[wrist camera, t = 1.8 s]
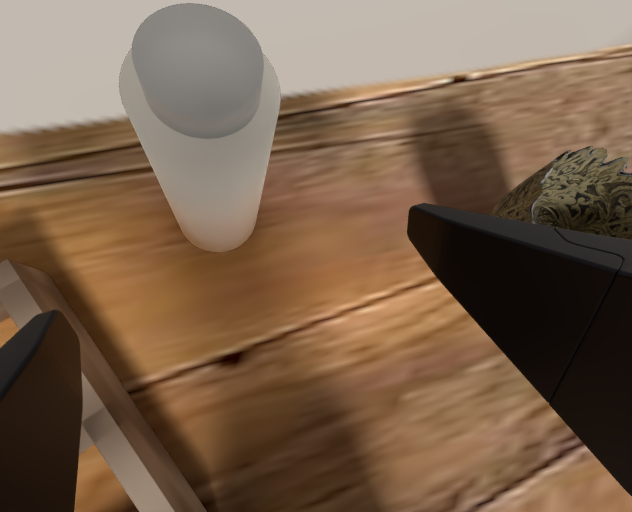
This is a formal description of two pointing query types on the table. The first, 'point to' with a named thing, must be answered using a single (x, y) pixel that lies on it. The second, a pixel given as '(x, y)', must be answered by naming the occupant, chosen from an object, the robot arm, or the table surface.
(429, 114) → the table surface
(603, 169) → the cup
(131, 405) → the socket block
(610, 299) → the robot arm
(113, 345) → the table surface
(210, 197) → the plug
